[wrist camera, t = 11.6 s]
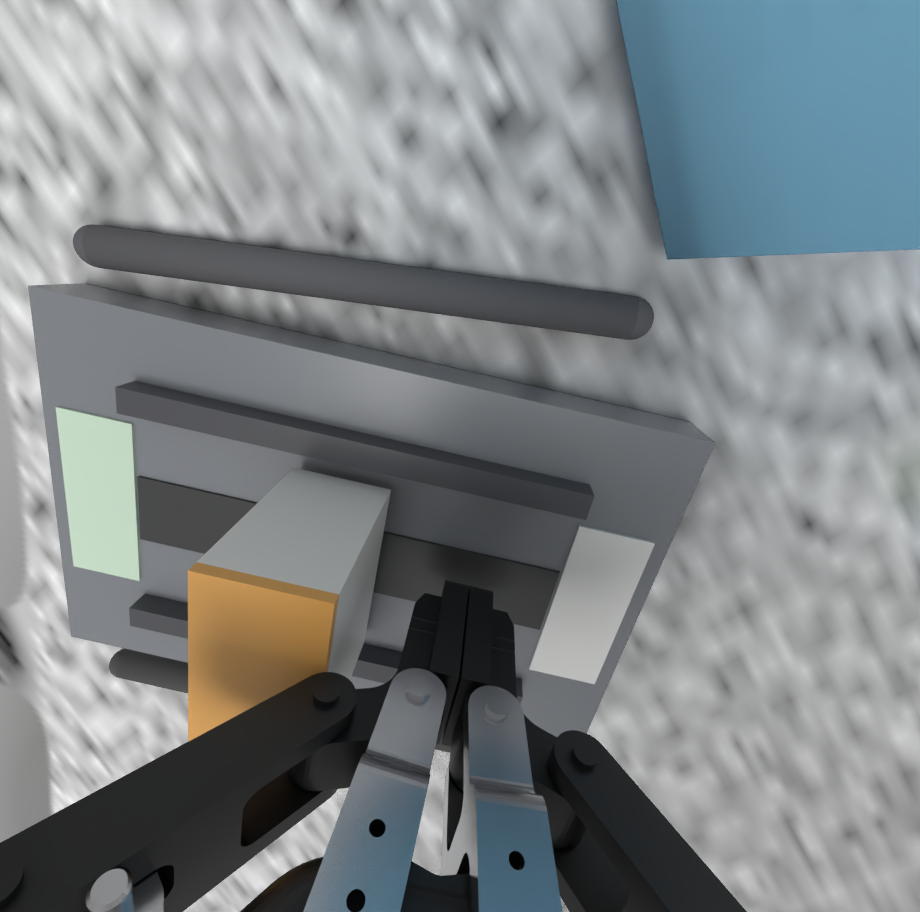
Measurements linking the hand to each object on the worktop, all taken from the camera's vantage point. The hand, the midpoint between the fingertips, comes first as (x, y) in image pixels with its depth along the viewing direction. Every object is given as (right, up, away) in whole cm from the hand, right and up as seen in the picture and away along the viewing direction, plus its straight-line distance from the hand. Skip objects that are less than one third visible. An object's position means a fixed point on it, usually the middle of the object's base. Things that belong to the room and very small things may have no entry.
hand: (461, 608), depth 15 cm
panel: (-4, +2, +3) cm, 5 cm away
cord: (-3, +10, 0) cm, 10 cm away
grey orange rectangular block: (-4, +1, +1) cm, 5 cm away
